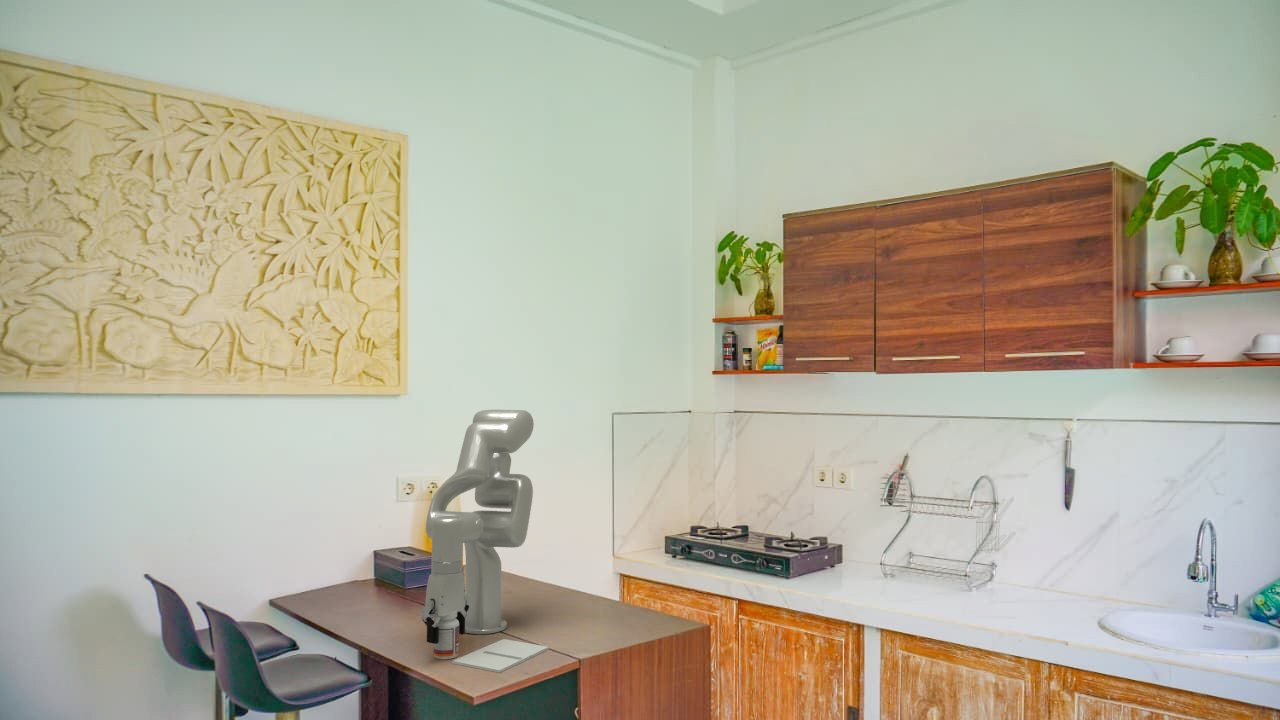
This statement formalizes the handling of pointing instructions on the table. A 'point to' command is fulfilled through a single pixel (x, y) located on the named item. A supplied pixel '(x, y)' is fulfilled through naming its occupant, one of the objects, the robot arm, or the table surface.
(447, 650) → the pill bottle
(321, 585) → the table surface
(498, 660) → the mat
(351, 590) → the table surface
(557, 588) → the table surface
